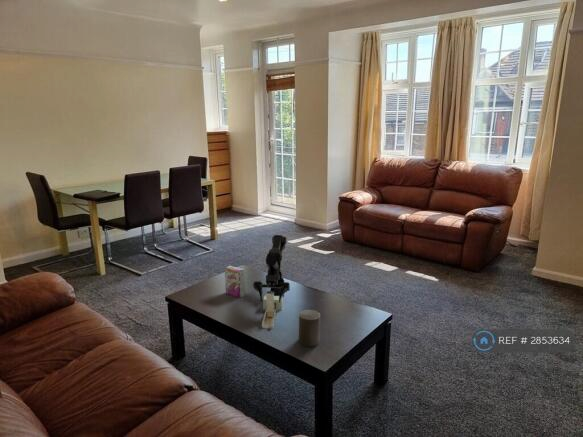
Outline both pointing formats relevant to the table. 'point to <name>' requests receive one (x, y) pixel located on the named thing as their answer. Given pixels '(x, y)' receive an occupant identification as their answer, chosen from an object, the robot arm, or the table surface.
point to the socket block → (276, 300)
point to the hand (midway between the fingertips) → (270, 301)
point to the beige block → (270, 303)
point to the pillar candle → (309, 328)
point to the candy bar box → (235, 281)
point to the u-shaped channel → (268, 321)
